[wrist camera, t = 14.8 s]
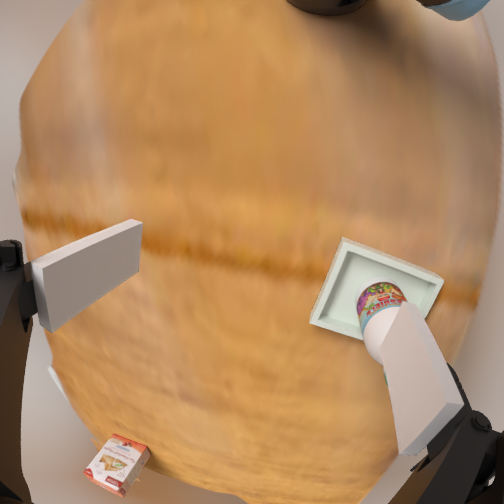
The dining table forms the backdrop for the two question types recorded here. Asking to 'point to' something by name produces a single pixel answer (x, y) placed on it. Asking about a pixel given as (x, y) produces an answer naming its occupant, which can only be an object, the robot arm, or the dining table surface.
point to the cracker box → (118, 465)
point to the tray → (359, 271)
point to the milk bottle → (377, 312)
